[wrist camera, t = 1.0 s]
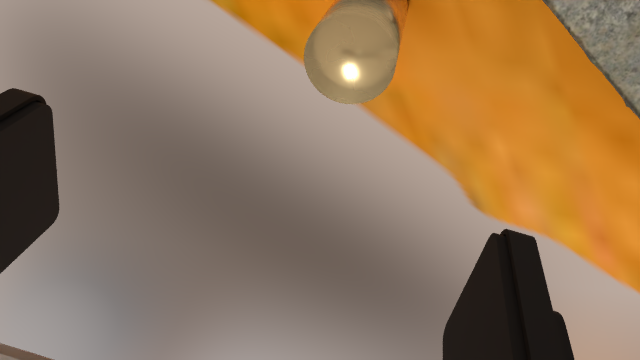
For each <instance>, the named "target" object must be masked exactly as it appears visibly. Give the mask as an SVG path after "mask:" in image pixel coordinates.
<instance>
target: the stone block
mask: <svg viewBox="0 0 640 360" xmlns="http://www.w3.org/2000/svg"><path fill="white" fill-rule="evenodd" d="M543 2H544V3H545V4H546V5H547V6H548V7H549V8H550V10H551V11H552V12H553V13H554V14H555V15H556V17H557V18H558V19H559V21H560V22H561V23H562V24H563V25H564V27H565V28H566V29H567V30H568V32H569V33H570V35H571V36H572V37H573V38H574V40H575V41H576V42H577V43H578V44H579V46H580V47H581V48H582V49H583V50H584V52H585V54H586V55H587V57H588V58H589V60H590V61H591V62H592V63H593V64H594V65H595V66H596V67H597V68H598V69H599V70H600V71H601V72H602V73H603V75H604V76H605V77H606V79H607V80H608V81H609V82H610V83H611V84H612V85H613V87H614V88H615V89H616V91H617V92H618V93H619V94H620V96H621V97H622V98H623V100H624V102H625V104H626V106H627V107H629V108H630V109H631V110H632V111H633V112H634V113H635V114H636V115H637V116H638V118H639V119H640V0H543Z"/></svg>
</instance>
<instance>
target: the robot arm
mask: <svg viewBox="0 0 640 360" xmlns="http://www.w3.org/2000/svg"><path fill="white" fill-rule="evenodd" d="M58 213H59V196H58V184H57V169H56V156H55V143H54V129H53V115H52V110H51V108H50V106H48V105H46V102H45V100H44V98H43V97H41V96H40V95H36V94H33V93H29V92H25V91H22V90H19V89H14V88H12V89H9V90H7V91H5V92H3V93H1V94H0V273H1V272H3V271H4V270H5V269H6V268H7V267H8V266H9V265H10V264H11V263H12V262H13V261H14V260H15V259H16V258H17V257H18V256H19V255H20V254H21V253H23V252H24V251H25V250H26V249H27V248H28V247H29V246H30V245H31V244H32V243H33V242H34V241H35V240H36V239H37V238H38V237H39V236H40V235H41V234H43V233H44V232H45V231H46V230H47V229H48V228H49V227H50V226H51V225H52V224H53V223H54V221H55V220H56V218H57V216H58ZM0 360H53V359H50V358H47V357H44V356H41V355H37V354H34V353H31V352H28V351H25V350H21V349H18V348H15V347H11V346H8V345H5V344H2V343H0ZM443 360H574V356H573V352H572V349H571V344H570V341H569V337H568V333H567V329H566V325H565V322H564V319H563V317H562V315H561V314H560V313H558V312H556V311H553V309H552V305H551V301H550V296H549V292H548V288H547V284H546V280H545V276H544V272H543V268H542V264H541V259H540V255H539V251H538V247H537V243H536V240H535V238H534V237H533V236H529V235H526V234H522V233H519V232H515V231H512V230H508V229H505V230H503V231H502V232H501V234H500V235H499V234H496V233H492V234H491V235H490V237H489V239H488V241H487V243H486V245H485V247H484V249H483V251H482V253H481V255H480V257H479V259H478V261H477V263H476V265H475V267H474V269H473V271H472V273H471V275H470V277H469V279H468V281H467V283H466V285H465V287H464V289H463V291H462V293H461V295H460V297H459V299H458V301H457V303H456V306H455V307H454V310H453V312H452V314H451V316H450V318H449V320H448V322H447V324H446V327H445V330H444V335H443Z"/></svg>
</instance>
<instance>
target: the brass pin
mask: <svg viewBox="0 0 640 360" xmlns="http://www.w3.org/2000/svg"><path fill="white" fill-rule="evenodd" d="M407 10H408V0H335V1H334V3H333V4H332V5H331V7H330V8H329V10H328V11H327V12H326V14H325V15H324V17H323V18H322V19H321V21H320V22H319V23H318V25H317V26H316V28H315V29H314V30H313V32H312V33H311V35H310V37H309V38H308V41H307V43H306V47H305V52H304V63H305V69H306V72H307V75H308V77H309V79H310V81H311V82H312V84H313V85H314V86H315V88H316V89H317V90H318V91H319V92H320V93H322V94H323V95H325V96H326V97H327V98H329V99H331V100H334V101H336V102H339V103H345V104H359V103H364V102H367V101H369V100H372V99H374V98H375V97H377V96H378V95H380V94H381V93H382V92H383V91H384V90H385V89H386V88H387V86H388V85H389V83H390V82H391V80H392V78H393V75H394V72H395V67H396V62H397V58H398V53H399V48H400V43H401V39H402V34H403V29H404V25H405V20H406V15H407Z"/></svg>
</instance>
